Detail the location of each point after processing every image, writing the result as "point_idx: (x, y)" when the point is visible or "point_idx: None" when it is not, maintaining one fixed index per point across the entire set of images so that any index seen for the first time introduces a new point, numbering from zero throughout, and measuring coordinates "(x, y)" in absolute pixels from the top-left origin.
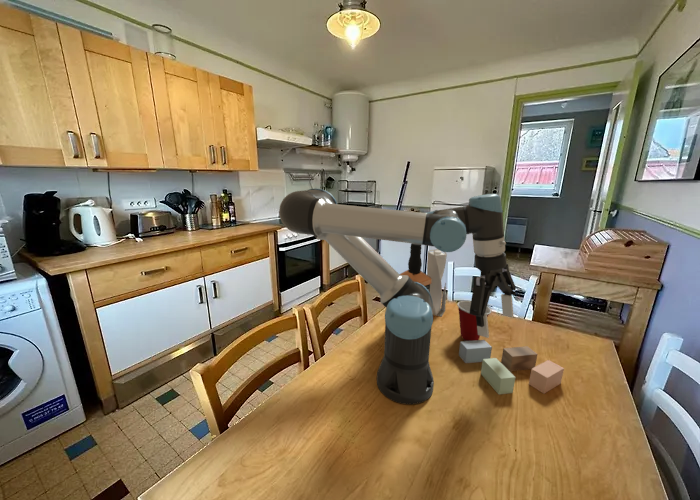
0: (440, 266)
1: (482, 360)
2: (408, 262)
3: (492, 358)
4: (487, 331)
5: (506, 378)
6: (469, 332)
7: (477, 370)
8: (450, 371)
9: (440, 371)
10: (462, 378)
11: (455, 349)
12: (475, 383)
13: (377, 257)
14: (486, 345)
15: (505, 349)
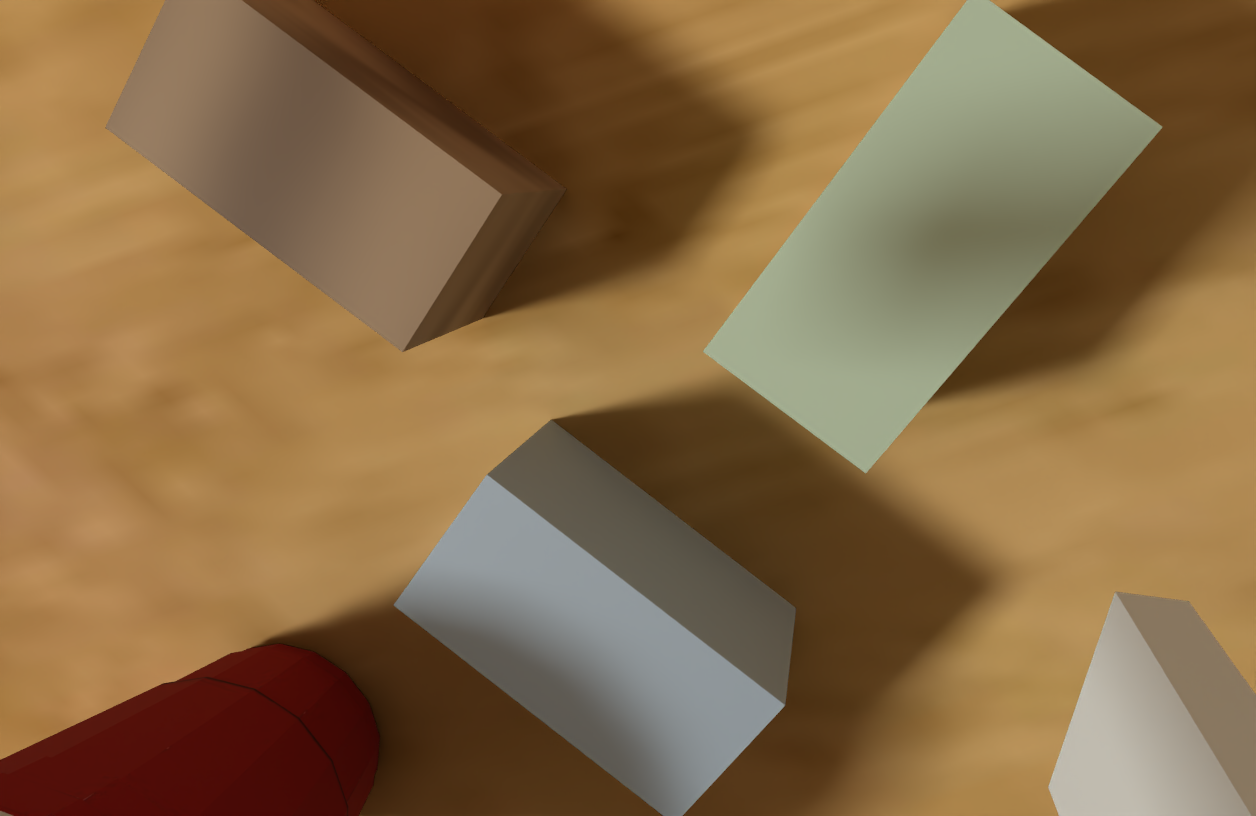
0: None
1: (622, 482)
2: None
3: (754, 380)
4: (1243, 715)
5: (1088, 77)
6: (333, 789)
7: (828, 463)
8: (1071, 678)
9: None
10: (1100, 536)
11: None
12: (1084, 398)
13: None
14: (503, 540)
15: (405, 321)
